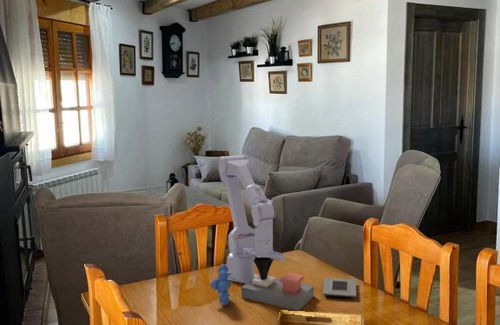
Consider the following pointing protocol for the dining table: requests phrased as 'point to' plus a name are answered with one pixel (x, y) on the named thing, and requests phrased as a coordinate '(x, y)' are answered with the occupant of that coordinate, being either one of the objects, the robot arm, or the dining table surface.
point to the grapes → (222, 284)
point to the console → (278, 295)
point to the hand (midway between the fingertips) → (263, 278)
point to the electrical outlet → (339, 287)
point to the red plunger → (291, 282)
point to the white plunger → (263, 281)
